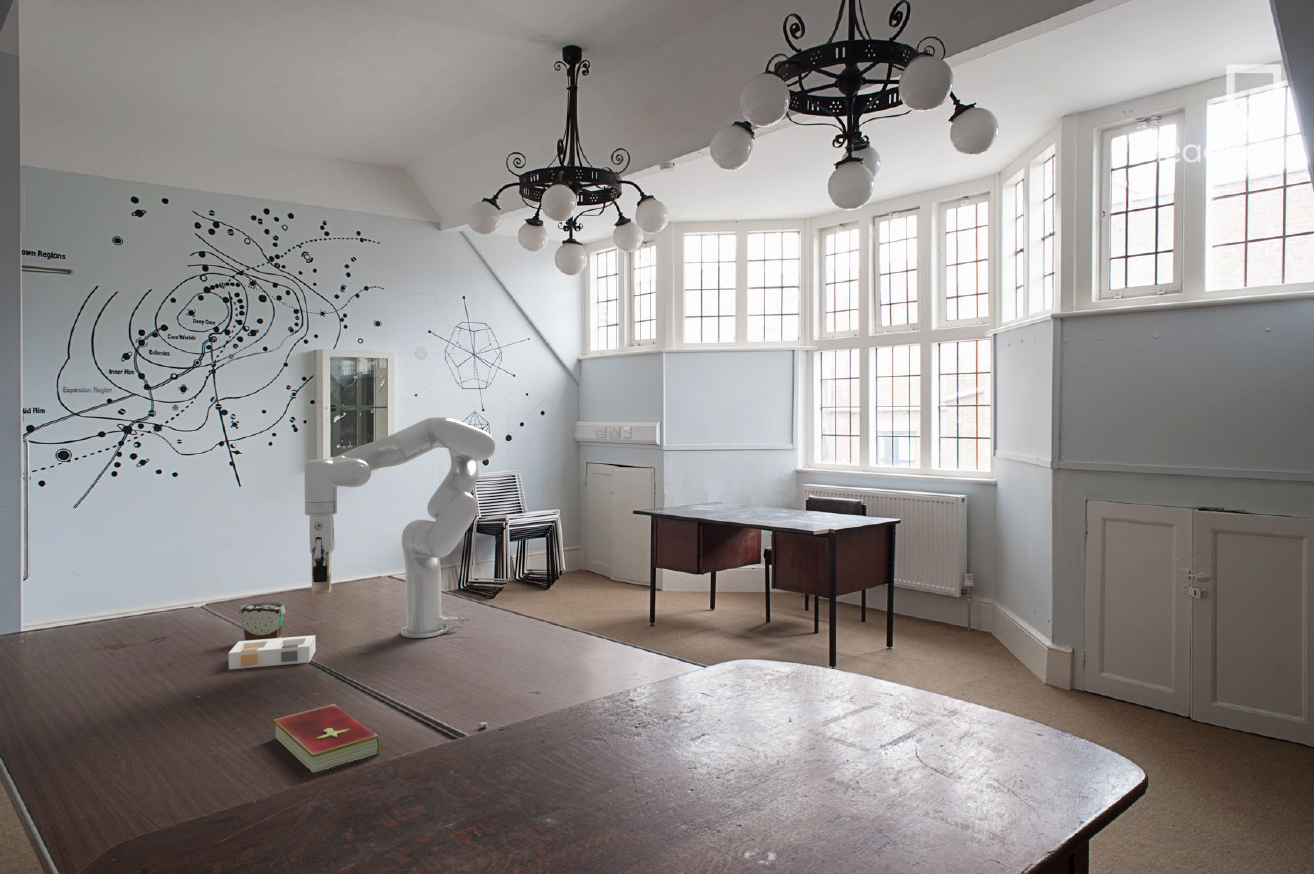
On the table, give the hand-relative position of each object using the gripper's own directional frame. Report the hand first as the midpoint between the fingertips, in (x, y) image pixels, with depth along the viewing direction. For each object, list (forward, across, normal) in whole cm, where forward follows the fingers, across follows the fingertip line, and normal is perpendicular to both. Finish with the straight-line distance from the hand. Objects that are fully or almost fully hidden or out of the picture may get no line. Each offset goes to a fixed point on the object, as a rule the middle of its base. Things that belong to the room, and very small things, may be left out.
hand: (321, 579), depth 198 cm
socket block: (+20, 0, +11) cm, 23 cm away
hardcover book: (+21, -58, -8) cm, 62 cm away
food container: (+20, +20, +16) cm, 32 cm away
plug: (+3, 0, 0) cm, 3 cm away
